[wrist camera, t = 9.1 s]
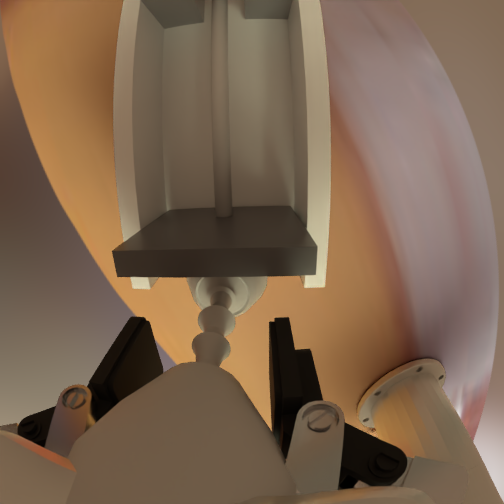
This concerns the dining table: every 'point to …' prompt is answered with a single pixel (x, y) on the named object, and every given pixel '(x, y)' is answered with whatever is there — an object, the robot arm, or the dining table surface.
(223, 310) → the chalice
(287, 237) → the pusher
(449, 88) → the dining table surface
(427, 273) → the dining table surface
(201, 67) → the grey bracket
